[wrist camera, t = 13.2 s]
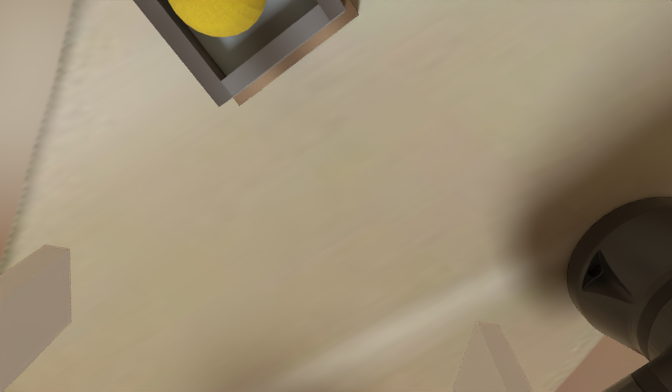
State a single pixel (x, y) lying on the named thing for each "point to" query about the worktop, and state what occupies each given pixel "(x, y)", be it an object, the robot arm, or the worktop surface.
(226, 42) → the planter box
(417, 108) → the worktop surface
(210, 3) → the lemon
